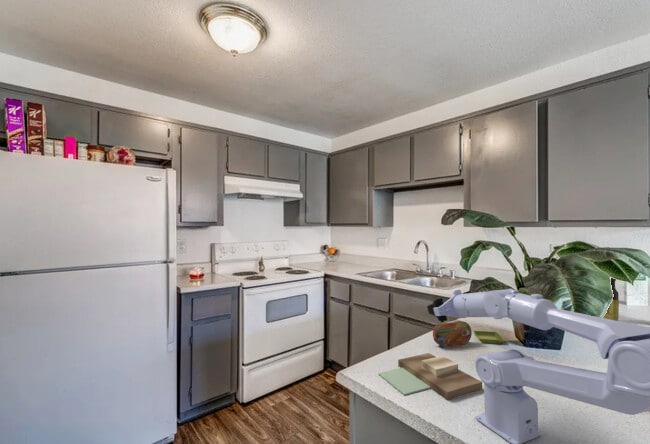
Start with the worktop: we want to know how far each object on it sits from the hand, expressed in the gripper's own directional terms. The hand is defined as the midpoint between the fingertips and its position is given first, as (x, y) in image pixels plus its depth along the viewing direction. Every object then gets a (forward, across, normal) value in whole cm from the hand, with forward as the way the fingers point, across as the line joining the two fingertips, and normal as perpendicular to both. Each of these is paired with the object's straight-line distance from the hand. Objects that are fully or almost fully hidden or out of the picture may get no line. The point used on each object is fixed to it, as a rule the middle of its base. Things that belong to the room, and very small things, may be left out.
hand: (440, 306), depth 87 cm
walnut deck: (+6, +3, +19) cm, 20 cm away
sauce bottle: (+26, -99, +27) cm, 106 cm away
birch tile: (+6, +2, +17) cm, 18 cm away
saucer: (+25, -33, +19) cm, 45 cm away
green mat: (+7, +14, +17) cm, 23 cm away
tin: (+24, -17, +17) cm, 34 cm away
